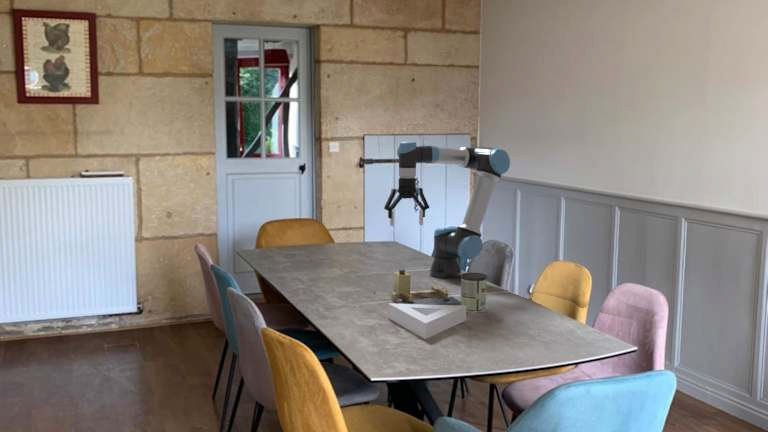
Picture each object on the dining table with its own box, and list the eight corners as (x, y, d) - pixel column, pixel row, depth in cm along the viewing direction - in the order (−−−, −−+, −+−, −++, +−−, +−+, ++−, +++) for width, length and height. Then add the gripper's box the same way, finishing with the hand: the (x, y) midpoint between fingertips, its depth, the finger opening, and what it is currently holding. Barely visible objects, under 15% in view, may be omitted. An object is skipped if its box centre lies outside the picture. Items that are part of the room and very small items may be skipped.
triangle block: (425, 340, 276) (425, 323, 275) (365, 328, 290) (365, 311, 289) (465, 321, 300) (466, 305, 299) (408, 311, 315) (409, 295, 314)
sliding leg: (404, 293, 334) (404, 267, 332) (416, 302, 319) (417, 275, 318) (393, 294, 332) (393, 268, 330) (405, 302, 318) (405, 276, 316)
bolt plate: (452, 300, 330) (452, 295, 330) (461, 306, 321) (461, 301, 320) (395, 304, 323) (395, 299, 322) (403, 310, 313) (403, 305, 313)
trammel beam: (443, 295, 338) (443, 285, 338) (456, 303, 325) (456, 293, 324) (390, 298, 331) (390, 288, 331) (401, 307, 318) (401, 296, 317)
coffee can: (463, 305, 322) (464, 271, 320) (488, 307, 319) (489, 273, 317) (457, 311, 313) (458, 276, 311) (482, 313, 309) (484, 278, 307)
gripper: (430, 175, 349) (430, 222, 352) (377, 176, 342) (377, 224, 345) (437, 177, 342) (436, 225, 345) (382, 178, 335) (382, 227, 338)
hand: (406, 225), depth 345 cm, fingers open, 13 cm apart
